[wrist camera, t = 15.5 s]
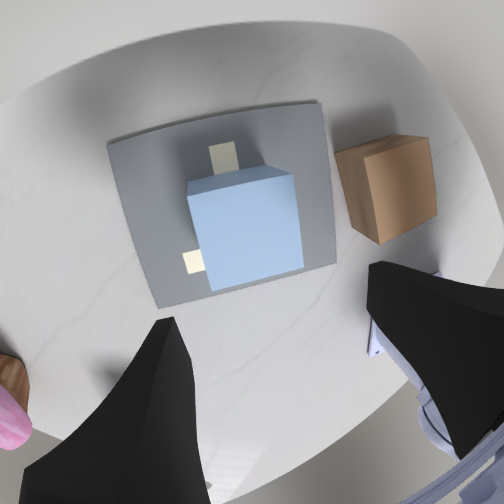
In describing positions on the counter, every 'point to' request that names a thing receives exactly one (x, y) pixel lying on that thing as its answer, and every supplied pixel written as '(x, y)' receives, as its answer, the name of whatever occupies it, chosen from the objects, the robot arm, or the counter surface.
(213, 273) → the blue cube
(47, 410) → the counter surface
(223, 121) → the board
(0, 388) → the cupcake
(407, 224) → the walnut block
